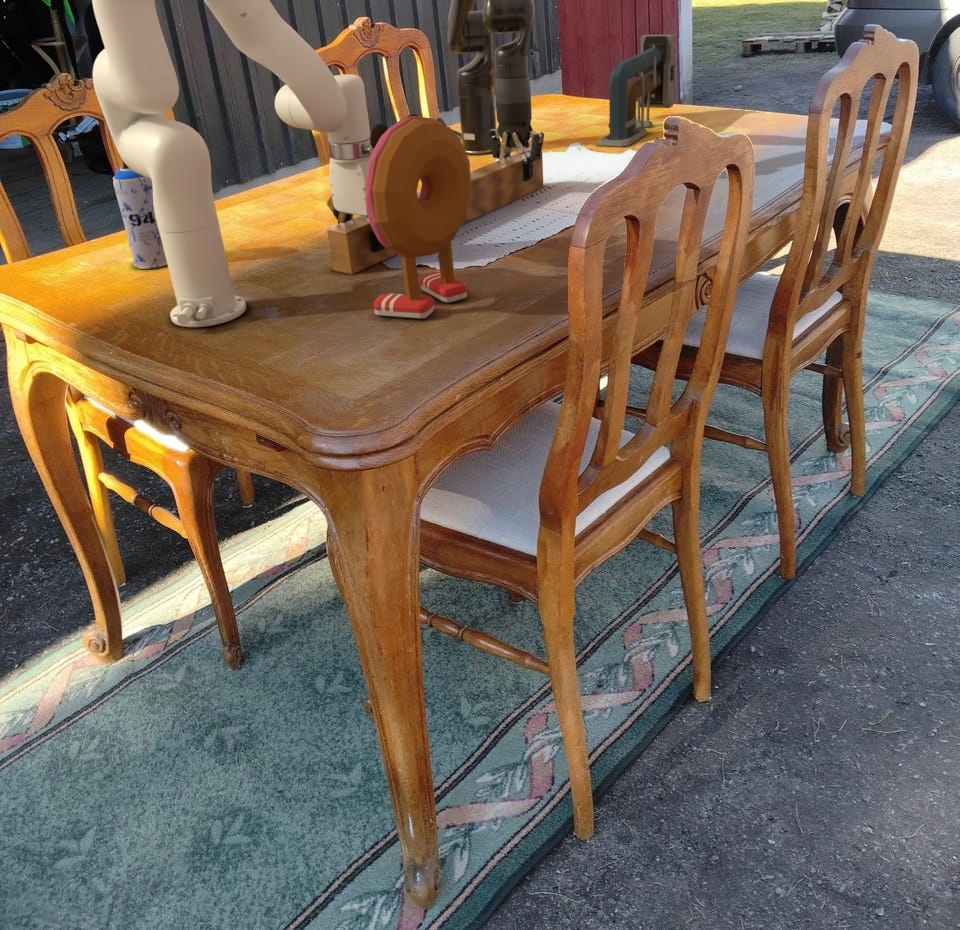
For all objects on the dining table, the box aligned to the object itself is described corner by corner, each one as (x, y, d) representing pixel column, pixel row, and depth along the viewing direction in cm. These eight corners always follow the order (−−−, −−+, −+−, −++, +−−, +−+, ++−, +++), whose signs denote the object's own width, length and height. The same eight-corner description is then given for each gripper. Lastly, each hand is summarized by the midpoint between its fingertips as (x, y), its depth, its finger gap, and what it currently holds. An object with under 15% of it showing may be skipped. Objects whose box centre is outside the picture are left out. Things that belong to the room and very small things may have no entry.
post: (352, 274, 177) (346, 232, 173) (333, 270, 179) (326, 229, 175) (543, 186, 218) (542, 151, 214) (526, 184, 221) (524, 150, 217)
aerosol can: (133, 271, 187) (105, 166, 177) (134, 259, 194) (107, 157, 184) (174, 264, 189) (149, 160, 179) (174, 253, 195) (150, 152, 185)
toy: (445, 278, 171) (428, 100, 155) (490, 288, 165) (476, 104, 149) (359, 319, 157) (331, 128, 142) (404, 331, 151) (380, 133, 136)
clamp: (627, 146, 245) (627, 56, 234) (595, 145, 249) (593, 56, 238) (672, 117, 270) (675, 34, 260) (643, 116, 274) (644, 34, 263)
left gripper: (401, 148, 170) (412, 248, 179) (331, 141, 179) (345, 236, 188) (372, 158, 165) (385, 260, 174) (302, 150, 174) (318, 247, 183)
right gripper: (551, 96, 204) (553, 178, 212) (496, 93, 212) (501, 172, 220) (530, 103, 199) (534, 186, 207) (475, 100, 207) (481, 180, 215)
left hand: (364, 246), depth 181 cm, fingers open, 6 cm apart
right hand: (517, 178), depth 214 cm, fingers closed on post, 5 cm apart
